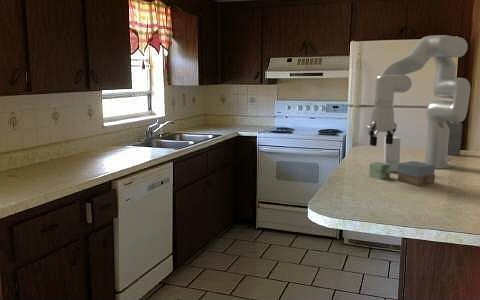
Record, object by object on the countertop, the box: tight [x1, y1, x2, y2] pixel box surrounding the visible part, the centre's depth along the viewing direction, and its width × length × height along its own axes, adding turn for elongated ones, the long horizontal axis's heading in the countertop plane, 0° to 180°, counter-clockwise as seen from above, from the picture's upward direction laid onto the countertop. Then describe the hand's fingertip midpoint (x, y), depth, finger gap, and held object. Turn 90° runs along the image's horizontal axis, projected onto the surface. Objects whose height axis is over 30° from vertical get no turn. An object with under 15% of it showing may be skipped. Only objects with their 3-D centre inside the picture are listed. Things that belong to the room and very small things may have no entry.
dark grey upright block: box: [446, 122, 463, 157], centre depth 248 cm, size 15×6×20 cm, turn 64°
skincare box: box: [382, 135, 401, 173], centre depth 208 cm, size 8×7×16 cm
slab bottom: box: [397, 172, 436, 187], centre depth 186 cm, size 10×10×4 cm
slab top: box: [397, 160, 436, 177], centre depth 186 cm, size 10×10×4 cm
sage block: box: [368, 161, 391, 180], centre depth 195 cm, size 6×6×6 cm
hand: (381, 144), depth 193 cm, fingers open, 9 cm apart
